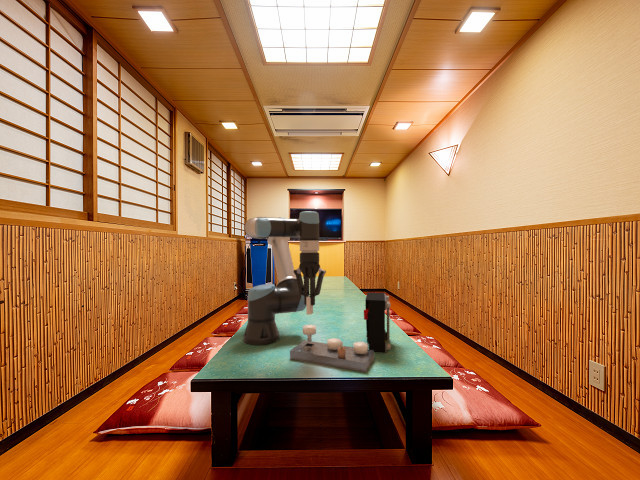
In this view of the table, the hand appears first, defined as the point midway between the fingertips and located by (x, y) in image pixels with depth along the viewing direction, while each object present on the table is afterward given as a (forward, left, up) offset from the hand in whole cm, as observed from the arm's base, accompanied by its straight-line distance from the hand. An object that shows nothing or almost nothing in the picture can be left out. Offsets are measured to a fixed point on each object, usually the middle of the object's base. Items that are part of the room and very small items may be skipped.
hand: (309, 313), depth 110 cm
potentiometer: (+15, -6, -12) cm, 20 cm away
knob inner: (0, 0, -11) cm, 10 cm away
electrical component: (+22, +19, -15) cm, 33 cm away
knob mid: (+10, 0, -15) cm, 17 cm away
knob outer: (+20, 0, -15) cm, 24 cm away
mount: (+10, -2, -15) cm, 18 cm away
